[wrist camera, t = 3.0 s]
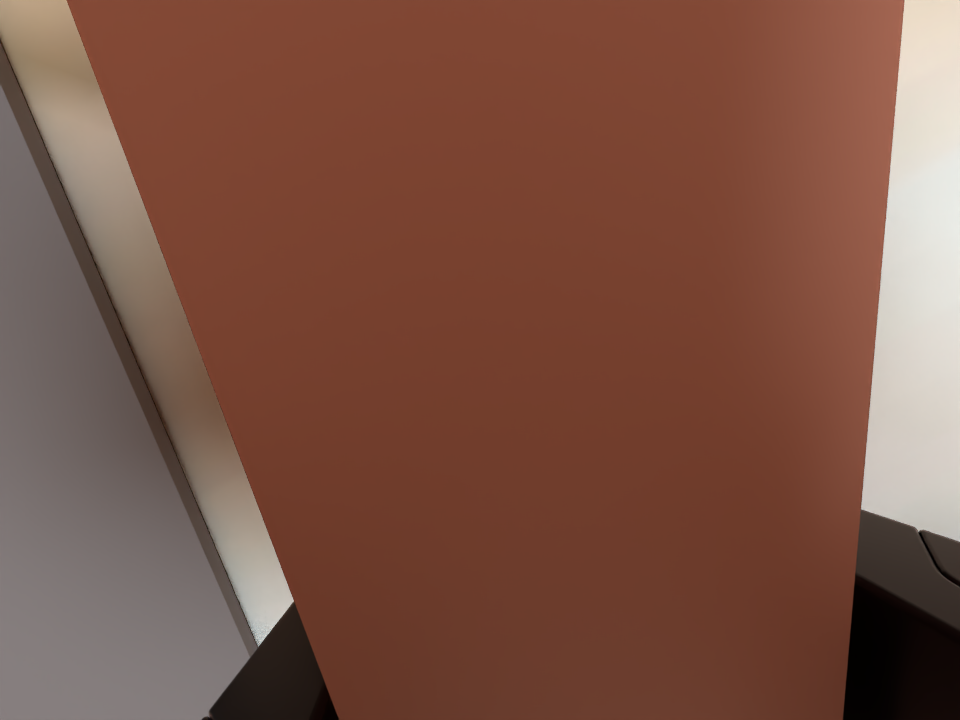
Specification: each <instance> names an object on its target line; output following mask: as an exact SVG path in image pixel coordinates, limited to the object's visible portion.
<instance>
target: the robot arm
mask: <svg viewBox="0 0 960 720" xmlns="http://www.w3.org/2000/svg"><path fill="white" fill-rule="evenodd" d="M208 715H209V717H210V718H209V717H208V716H206V717H203V718H202V719H201V720H339V718H338V716H337V713H336V710H335V708H334V705H333V702H332V700H331V697H330V694H329V692H328V689H327V687H326V684H325V681H324V679H323V676H322V673H321V671H320V668H319V665H318V663H317V660H316V657H315V655H314V652H313V650H312V647H311V644H310V642H309V639H308V636H307V634H306V631H305V628H304V626H303V623H302V620H301V618H300V615H299V613H298V610H297V607H296V605H295V602H293V603H292V605H291V606H290V607H289V608H288V610H287V611H286V612H285V614H284V615H283V616H282V617H281V619H280V620H279V621H278V623H277V624H276V625H275V626H274V628H273V629H272V630H271V631H270V633H269V634H268V635H267V637H266V638H265V639H264V640H263V642H262V643H261V644H260V646H259V647H258V648H257V649H256V651H255V652H254V653H253V655H252V656H251V657H250V658H249V660H248V661H247V662H246V664H245V665H244V666H243V667H242V669H241V670H240V671H239V672H238V674H237V675H236V676H235V678H234V679H233V680H232V681H231V683H230V684H229V685H228V687H227V688H226V689H225V690H224V692H223V693H222V694H221V696H220V697H219V698H218V699H217V701H216V702H215V703H214V704H213V706H212V707H211V708H210V710H209V712H208ZM843 720H960V542H958V541H955V540H952V539H949V538H946V537H943V536H940V535H937V534H934V533H931V532H928V531H925V530H920V531H919V532H918V530H917V529H916V528H915V527H913V526H910V525H907V524H904V523H901V522H898V521H895V520H892V519H889V518H886V517H882V516H879V515H876V514H873V513H870V512H867V511H864V510H861V512H860V524H859V536H858V547H857V559H856V571H855V582H854V594H853V606H852V617H851V629H850V641H849V652H848V664H847V676H846V687H845V699H844V711H843Z"/></svg>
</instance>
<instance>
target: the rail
mask: <svg viewBox="0 0 960 720" xmlns="http://www.w3.org/2000/svg"><path fill="white" fill-rule="evenodd" d="M67 2H68V5H69V8H70V10H71V13H72V16H73V18H74V21H75V24H76V26H77V29H78V32H79V34H80V37H81V39H82V42H83V45H84V47H85V50H86V53H87V55H88V58H89V61H90V63H91V66H92V68H93V71H94V74H95V76H96V79H97V82H98V84H99V87H100V90H101V92H102V95H103V98H104V100H105V103H106V105H107V108H108V111H109V113H110V116H111V119H112V121H113V124H114V127H115V129H116V132H117V135H118V137H119V140H120V142H121V145H122V148H123V150H124V153H125V156H126V158H127V161H128V164H129V166H130V169H131V171H132V174H133V177H134V179H135V182H136V185H137V187H138V190H139V193H140V195H141V198H142V201H143V203H144V206H145V208H146V211H147V214H148V216H149V219H150V222H151V224H152V227H153V230H154V232H155V235H156V238H157V240H158V243H159V245H160V248H161V251H162V253H163V256H164V259H165V261H166V264H167V267H168V269H169V272H170V275H171V277H172V280H173V282H174V285H175V288H176V290H177V293H178V296H179V298H180V301H181V304H182V306H183V309H184V311H185V314H186V317H187V319H188V322H189V325H190V327H191V330H192V333H193V335H194V338H195V341H196V343H197V346H198V348H199V351H200V354H201V356H202V359H203V362H204V364H205V367H206V370H207V372H208V375H209V378H210V380H211V383H212V385H213V388H214V391H215V393H216V396H217V399H218V401H219V404H220V407H221V409H222V412H223V414H224V417H225V420H226V422H227V425H228V428H229V430H230V433H231V436H232V438H233V441H234V444H235V446H236V449H237V451H238V454H239V457H240V459H241V462H242V465H243V467H244V470H245V473H246V475H247V478H248V481H249V483H250V486H251V488H252V491H253V494H254V496H255V499H256V502H257V504H258V507H259V510H260V512H261V515H262V517H263V520H264V523H265V525H266V528H267V531H268V533H269V536H270V539H271V541H272V544H273V547H274V549H275V552H276V554H277V557H278V560H279V562H280V565H281V568H282V570H283V573H284V576H285V578H286V581H287V584H288V586H289V589H290V591H291V594H292V597H293V599H294V602H295V605H296V607H297V610H298V613H299V615H300V618H301V620H302V623H303V626H304V628H305V631H306V634H307V636H308V639H309V642H310V644H311V647H312V650H313V652H314V655H315V657H316V660H317V663H318V665H319V668H320V671H321V673H322V676H323V679H324V681H325V684H326V687H327V689H328V692H329V694H330V697H331V700H332V702H333V705H334V708H335V710H336V713H337V716H338V718H339V720H843V711H844V699H845V687H846V676H847V664H848V652H849V641H850V629H851V617H852V606H853V594H854V582H855V571H856V559H857V547H858V536H859V524H860V512H861V501H862V489H863V477H864V466H865V454H866V442H867V431H868V419H869V407H870V396H871V384H872V372H873V361H874V349H875V337H876V326H877V314H878V302H879V291H880V279H881V267H882V256H883V244H884V232H885V221H886V209H887V197H888V186H889V174H890V162H891V151H892V139H893V127H894V116H895V104H896V92H897V81H898V69H899V57H900V46H901V34H902V22H903V11H904V0H67Z"/></svg>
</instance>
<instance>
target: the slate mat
mask: <svg viewBox="0 0 960 720" xmlns="http://www.w3.org/2000/svg"><path fill="white" fill-rule="evenodd" d="M257 648H258V647H257V645H256V642H255V640H254V638H253V635H252V633H251V631H250V628H249V626H248V624H247V621H246V619H245V617H244V614H243V612H242V609H241V607H240V605H239V602H238V600H237V598H236V595H235V593H234V591H233V588H232V586H231V584H230V581H229V579H228V577H227V574H226V572H225V569H224V567H223V565H222V562H221V560H220V558H219V555H218V553H217V551H216V548H215V546H214V544H213V541H212V539H211V537H210V534H209V532H208V529H207V527H206V525H205V522H204V520H203V518H202V515H201V513H200V511H199V508H198V506H197V504H196V501H195V499H194V497H193V494H192V492H191V489H190V487H189V485H188V482H187V480H186V478H185V475H184V473H183V471H182V468H181V466H180V464H179V461H178V459H177V457H176V454H175V452H174V449H173V447H172V445H171V442H170V440H169V438H168V435H167V433H166V431H165V428H164V426H163V424H162V421H161V419H160V417H159V414H158V412H157V409H156V407H155V405H154V402H153V400H152V398H151V395H150V393H149V391H148V388H147V386H146V384H145V381H144V379H143V377H142V374H141V372H140V369H139V367H138V365H137V362H136V360H135V358H134V355H133V353H132V351H131V348H130V346H129V344H128V341H127V339H126V336H125V334H124V332H123V329H122V327H121V325H120V322H119V320H118V318H117V315H116V313H115V311H114V308H113V306H112V304H111V301H110V299H109V297H108V294H107V292H106V289H105V287H104V285H103V282H102V280H101V278H100V275H99V273H98V271H97V268H96V266H95V264H94V261H93V259H92V256H91V254H90V252H89V249H88V247H87V245H86V242H85V240H84V238H83V235H82V233H81V231H80V228H79V226H78V224H77V221H76V219H75V216H74V214H73V212H72V209H71V207H70V205H69V202H68V200H67V198H66V195H65V193H64V191H63V188H62V186H61V184H60V181H59V179H58V176H57V174H56V172H55V169H54V167H53V165H52V162H51V160H50V158H49V155H48V153H47V151H46V148H45V146H44V144H43V141H42V139H41V136H40V134H39V132H38V129H37V127H36V125H35V122H34V120H33V118H32V115H31V113H30V111H29V108H28V106H27V104H26V101H25V99H24V96H23V94H22V92H21V89H20V87H19V85H18V82H17V80H16V78H15V75H14V73H13V71H12V68H11V66H10V64H9V61H8V59H7V56H6V54H5V52H4V49H3V47H2V45H1V42H0V720H201V719H202V718H203V717H206V716H208V717H209V715H208V712H209V710H210V708H211V707H212V706H213V704H214V703H215V702H216V701H217V699H218V698H219V697H220V696H221V694H222V693H223V692H224V690H225V689H226V688H227V687H228V685H229V684H230V683H231V681H232V680H233V679H234V678H235V676H236V675H237V674H238V672H239V671H240V670H241V669H242V667H243V666H244V665H245V664H246V662H247V661H248V660H249V658H250V657H251V656H252V655H253V653H254V652H255V651H256V649H257ZM209 718H210V717H209Z"/></svg>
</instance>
